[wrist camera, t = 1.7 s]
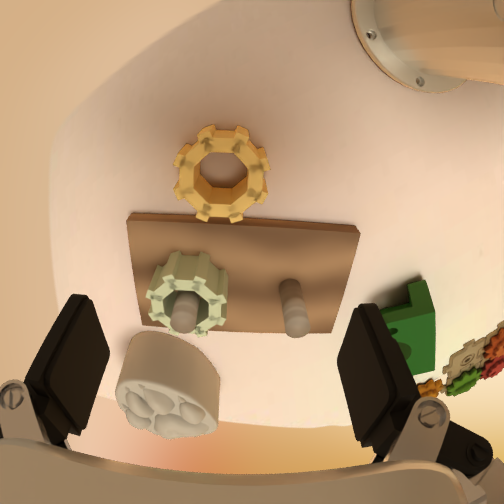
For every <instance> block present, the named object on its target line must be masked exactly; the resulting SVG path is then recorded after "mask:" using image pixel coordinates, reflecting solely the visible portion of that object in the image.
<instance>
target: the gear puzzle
mask: <svg viewBox="0 0 504 504" xmlns="http://www.w3.org/2000/svg"><path fill="white" fill-rule="evenodd" d="M497 326H498V328H497V329H496V330H494V331H493V332H491V333H489V334H488V335H487V336H486V337H483V338H481V339H479V340H477V341H476V342H475V340H474V339H472V340H470V341H469V342H467V343H465V344H464V345H463V346H464V348H463V349H461V350H459V351H457V352H456V353H454V354H452V355H451V356H450V359H449V364H448V365H447V366H444V367H443V372H442V373H443V374H446V373H447V372H448V373H447V375H448V377H447V379H446V384H444V385H443V384H442V380H441V379H440V380H437V381H435V382H434V381H433V380H432V379H431V380H430V381H428V382H427V383H426V384H425V385H418V387H417V388H418V390H419V393H420V395H421V397H422V398H423V397H426V396H427V397H435V398H436V397H437V396H438V394H439V393H438V392H439V391H440V392H441V393H444V392H445V394H446V396H451V395H453V396H456V395H458V394H461V393H463V392H467V391H468V390H470V388H471V387H473V386H474V385H475V384H476V381H477V380H479V379H482V378H484V379H487V378H488V377H491V378H492V377H493V376H495V375H497V374H498V373H499V372H501V371H502V369H503V368H504V321H502V322H500V323H499V324H498V325H497ZM480 360H481V361H480Z"/></svg>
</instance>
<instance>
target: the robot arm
mask: <svg viewBox="0 0 504 504" xmlns="http://www.w3.org/2000/svg"><path fill="white" fill-rule="evenodd" d="M351 10H352V18H353V23H354V26H355V29H356V32H357V35H358V37H359V39H360V41H361V43H362V45H363V47H364V49H365V50H366V51H367V53H368V54H369V56H370V57H371V59H372V60H373V61H374V62H375V63H376V64H377V65H378V66H379V68H380V69H381V70H382V71H383V72H385V73H386V74H387V75H388V76H390V77H391V78H392V79H393V80H395V81H397V82H399V83H400V84H402V85H404V86H406V87H408V88H411V89H414V90H417V91H422V92H427V93H443V92H449V91H451V90H453V89H455V88H458V87H459V86H460V85H462V84H463V83H464V82H465V81H466V80H467V79H469V80H476V81H483V82H489V83H495V84H500V85H504V0H352V3H351ZM366 33H368V34H369V35H370V38H368V37H367V34H366ZM416 79H417V83H416ZM109 357H110V350H109V347H108V344H107V341H106V339H105V336H104V333H103V330H102V328H101V325H100V322H99V319H98V316H97V313H96V310H95V307H94V304H93V301H92V300H91V299H89V298H88V296H87V295H80V294H72V295H71V296H70V297H69V299H68V301H67V302H66V304H65V306H64V307H63V309H62V311H61V312H60V314H59V316H58V317H57V319H56V321H55V322H54V324H53V326H52V328H51V330H50V331H49V333H48V335H47V337H46V338H45V340H44V342H43V344H42V346H41V347H40V349H39V351H38V353H37V355H36V357H35V359H34V361H33V363H32V365H31V367H30V369H29V371H28V373H27V375H26V377H25V380H24V382H21V381H19V380H9V381H7V382H5V383H4V384H2V386H1V387H0V504H504V463H503V462H502V461H501V460H500V459H499V458H496V459H494V458H493V450H492V447H491V445H490V443H489V442H488V441H487V440H486V439H485V438H483V437H481V436H479V435H477V434H475V433H473V432H472V431H470V430H468V429H465V428H464V427H462V426H460V425H458V424H456V423H454V422H452V421H450V413H449V410H448V408H447V406H446V405H445V404H444V403H443V402H442V401H441V400H439V399H438V398H435V397H427V396H426V397H423V398H422V397H421V395H420V393H419V390H418V388H417V385H416V383H415V381H414V378H413V376H412V374H411V371H410V369H409V367H408V364H407V362H406V360H405V358H404V355H403V353H402V351H401V349H400V347H399V344H398V342H397V341H396V339H394V338H392V336H391V333H390V331H389V329H388V327H387V325H386V323H385V321H384V319H383V316H382V314H381V312H380V310H379V308H378V306H377V305H376V304H375V303H367V304H360V305H359V306H358V308H354V310H353V313H352V316H351V319H350V322H349V325H348V328H347V331H346V334H345V337H344V340H343V343H342V346H341V349H340V351H339V354H338V357H337V366H338V370H339V374H340V377H341V381H342V385H343V389H344V393H345V397H346V401H347V405H348V409H349V413H350V417H351V421H352V425H353V430H354V433H355V438H356V440H357V441H360V442H361V446H362V448H363V447H369V446H372V447H373V451H374V453H375V454H374V456H373V458H372V459H371V461H370V463H369V464H366V465H359V466H353V467H346V468H338V469H330V470H320V471H311V472H299V473H285V474H248V475H247V474H246V475H245V474H212V473H198V472H186V471H176V470H168V469H160V468H153V467H146V466H140V465H134V464H129V463H123V462H118V461H113V460H109V459H104V458H100V457H96V456H92V455H88V454H84V453H80V452H76V451H72V450H71V448H70V445H69V443H68V441H67V436H68V433H71V434H74V435H78V436H80V435H81V431H82V430H84V429H85V428H86V426H87V423H88V419H89V416H90V413H91V410H92V407H93V404H94V400H95V398H96V395H97V391H98V389H99V386H100V383H101V380H102V377H103V374H104V371H105V368H106V365H107V363H108V360H109Z"/></svg>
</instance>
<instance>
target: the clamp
mask: <svg viewBox="0 0 504 504" xmlns="http://www.w3.org/2000/svg"><path fill="white" fill-rule="evenodd" d="M407 288H408V295H409V302H410V303H406V304H402V305H398V306H394V307H390V308H385V309H381V310H380V312H381V314H382V316H383V319H384V321H385V323H386V325H387V327H388V329H389V331H390V333H391V336H392V338H394V339H396V341H397V342H398V344H399V347H400V349H401V351H402V353H403V355H404V358H405V360H406V362H407V364H408V367H409V369H410V371H411V374H412V376H413V375H417V374H422V373H426V372H430V371H434V370H435V342H436V327H435V309H434V306H433V302H432V299H431V296H430V292H429V289H428V286H427V283H426V280H422V281H418V282H414V283H410V284H407Z"/></svg>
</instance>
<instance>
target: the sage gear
mask: <svg viewBox="0 0 504 504" xmlns="http://www.w3.org/2000/svg"><path fill="white" fill-rule="evenodd" d="M174 290H186V291H195V292H196V293H197V294H199V295H200V296H201V297H202V298H201V299H200V300H199V306H198V312H197V319H196V325H195V329H194V330H193V331H192V332H190V333H191V334H196V335H197V337H203V336H207V333H208V329H210V328H211V327H213V326H215V325H216V324H218V325H221V326H222V325H223V324H224V322H225V320H226V316H227V296H228V293H227V292H228V275H227V273H226V270H225V269H222V270H219V269H218V268H216V267H215V266H214V265H213V264H212V263H211V262H210V255H208V254H206V253H203V252H200V254H199V256H190V255H182V254H181V252H180V250H179V251H176V252H173V253H171V254H170V256H169V259H168V262H167V264H166V265H164V266H163V267H161V266H159V265H157V268H156V270H155V273H154V275H153V278H152V280H151V283H150V286H149V288H148V291H147V294H146V298H148V299H151V306H150V309H149V312H148V314H149V316H150V317H151V319H152V320H153V321H155V320H159V321H160V322H161V323H163V324H164V325H165V326H167V327H168V328H169V333H171V334H174V335H176V336H178V335H179V332H176V331H175V330H174V329H172V327H171V325H170V320H171V316H172V312H173V308H174V304H175V300H176V296H177V292H175V291H174Z"/></svg>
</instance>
